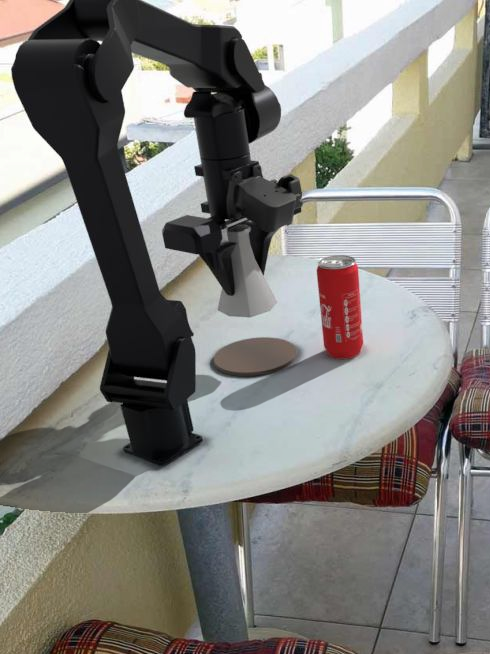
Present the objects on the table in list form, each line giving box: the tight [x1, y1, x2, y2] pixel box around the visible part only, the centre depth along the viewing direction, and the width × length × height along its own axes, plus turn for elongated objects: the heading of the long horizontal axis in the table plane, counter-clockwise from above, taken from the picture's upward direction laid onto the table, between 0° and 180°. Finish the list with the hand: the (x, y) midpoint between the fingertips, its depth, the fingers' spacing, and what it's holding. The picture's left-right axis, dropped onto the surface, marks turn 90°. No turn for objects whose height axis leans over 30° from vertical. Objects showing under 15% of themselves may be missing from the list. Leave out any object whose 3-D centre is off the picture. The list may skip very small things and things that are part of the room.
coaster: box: [213, 336, 298, 377], centre depth 113 cm, size 11×11×1 cm
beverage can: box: [316, 254, 364, 360], centre depth 110 cm, size 5×5×12 cm
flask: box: [217, 225, 278, 318], centre depth 106 cm, size 7×7×10 cm
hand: (245, 288), depth 108 cm, fingers closed on flask, 5 cm apart
